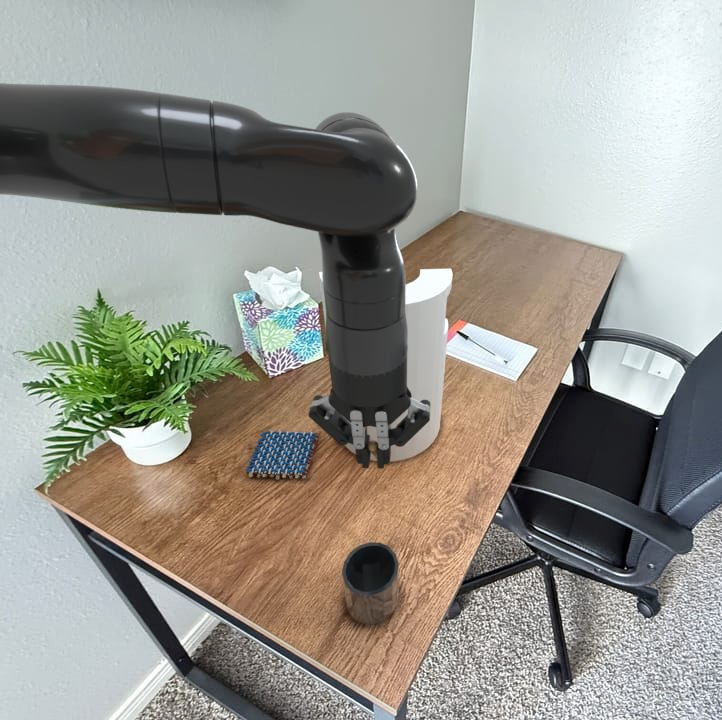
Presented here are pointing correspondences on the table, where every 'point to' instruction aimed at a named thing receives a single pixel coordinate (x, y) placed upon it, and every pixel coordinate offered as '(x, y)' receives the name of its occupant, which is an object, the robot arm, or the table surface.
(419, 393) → the white curved half cylinder
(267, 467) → the woven mat
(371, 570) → the cup
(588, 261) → the table surface
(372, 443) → the stirrer
